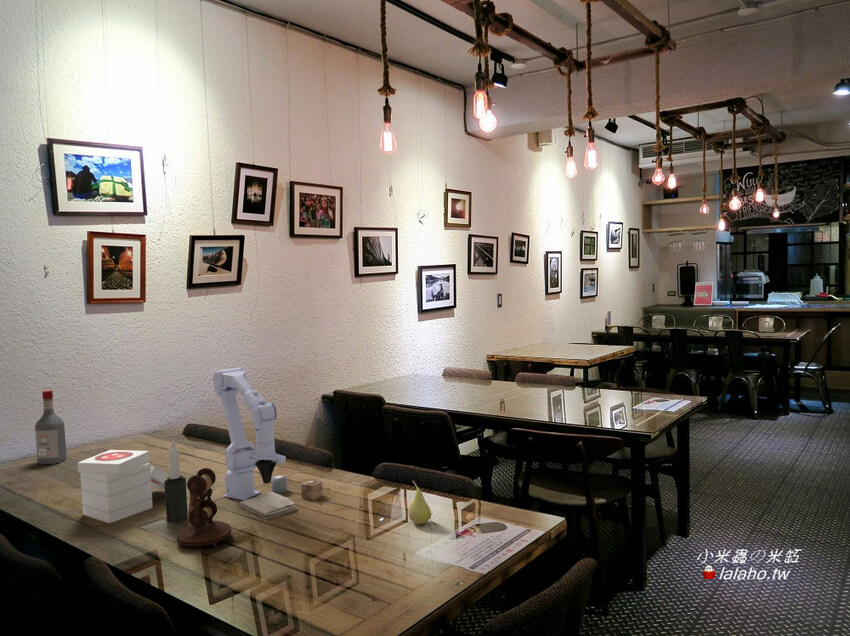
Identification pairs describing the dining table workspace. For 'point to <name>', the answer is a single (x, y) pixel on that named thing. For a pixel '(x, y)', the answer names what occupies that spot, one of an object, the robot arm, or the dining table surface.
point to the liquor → (50, 434)
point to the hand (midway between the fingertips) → (267, 482)
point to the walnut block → (311, 489)
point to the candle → (175, 490)
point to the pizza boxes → (118, 484)
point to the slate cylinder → (279, 484)
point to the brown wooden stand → (202, 513)
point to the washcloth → (269, 505)
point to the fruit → (419, 509)
